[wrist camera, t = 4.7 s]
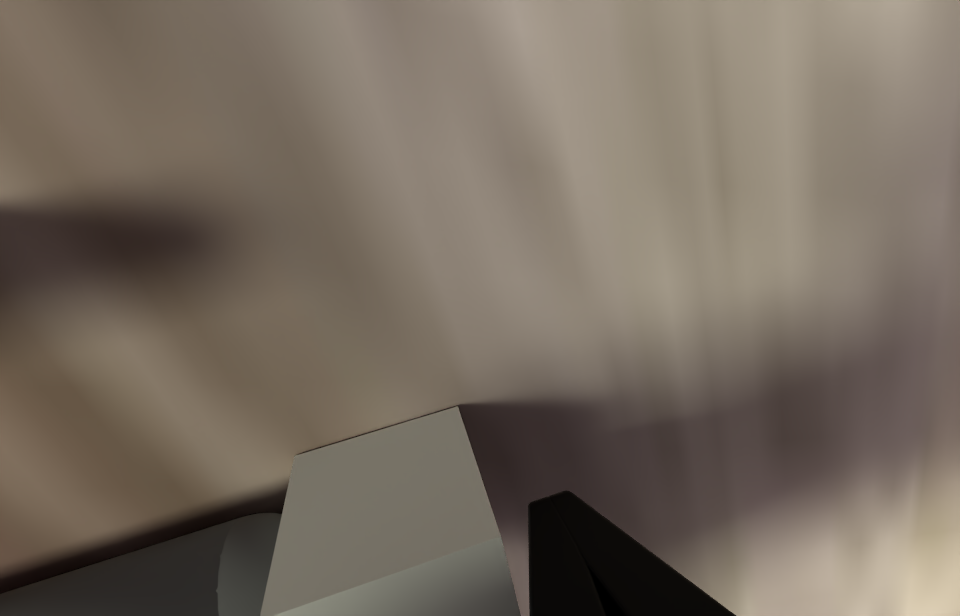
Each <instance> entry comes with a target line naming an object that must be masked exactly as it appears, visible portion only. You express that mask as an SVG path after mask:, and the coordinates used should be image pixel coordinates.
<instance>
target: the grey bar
mask: <svg viewBox="0 0 960 616" xmlns="http://www.w3.org/2000/svg"><path fill="white" fill-rule="evenodd" d="M0 616H521V615H520V611H519V607H518V603H517V599H516V595H515V591H514V587H513V583H512V579H511V575H510V571H509V567H508V563H507V559H506V555H505V551H504V547H503V543H502V539H501V535H500V532H499V529H498V526H497V523H496V520H495V517H494V514H493V511H492V508H491V505H490V502H489V499H488V496H487V493H486V490H485V487H484V484H483V481H482V478H481V475H480V472H479V469H478V466H477V463H476V460H475V457H474V454H473V451H472V448H471V445H470V442H469V439H468V436H467V433H466V430H465V427H464V424H463V421H462V418H461V415H460V412H459V408H458V406H457V407H453V408H450V409H447V410H443V411H440V412H437V413H434V414H430V415H427V416H424V417H421V418H417V419H414V420H411V421H407V422H404V423H401V424H398V425H394V426H391V427H388V428H384V429H381V430H378V431H375V432H371V433H368V434H365V435H362V436H358V437H355V438H352V439H348V440H345V441H342V442H339V443H335V444H332V445H329V446H325V447H322V448H319V449H316V450H312V451H309V452H306V453H303V454H299V455H296V456H294V461H293V466H292V470H291V475H290V480H289V484H288V489H287V493H286V498H285V503H284V507H283V512H282V514H278V513H258V514H253V515H249V516H244V517H241V518H237V519H234V520H231V521H228V522H225V523H222V524H219V525H215V526H212V527H209V528H206V529H203V530H200V531H197V532H193V533H190V534H187V535H184V536H181V537H178V538H175V539H171V540H168V541H165V542H162V543H159V544H156V545H153V546H149V547H146V548H143V549H140V550H137V551H134V552H131V553H127V554H124V555H121V556H118V557H115V558H112V559H109V560H105V561H102V562H99V563H96V564H93V565H90V566H87V567H83V568H80V569H77V570H74V571H71V572H68V573H64V574H61V575H58V576H55V577H52V578H49V579H46V580H42V581H39V582H36V583H33V584H30V585H27V586H24V587H20V588H17V589H14V590H11V591H8V592H5V593H2V594H0Z"/></svg>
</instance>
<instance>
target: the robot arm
mask: <svg viewBox="0 0 960 616" xmlns="http://www.w3.org/2000/svg"><path fill="white" fill-rule="evenodd" d="M528 539H529V609H530V616H736V615H734V614H733V613H732V612H730V611H729V610H728V609H726V608H725V607H724V606H722V605H721V604H720V603H718V602H717V601H716V600H714V599H713V598H712V597H710V596H709V595H708V594H706V593H705V592H704V591H702V590H701V589H700V588H698V587H697V586H696V585H694V584H693V583H692V582H690V581H689V580H688V579H686V578H685V577H684V576H682V575H681V574H680V573H678V572H677V571H676V570H674V569H673V568H672V567H670V566H669V565H668V564H666V563H665V562H664V561H662V560H661V559H660V558H658V557H657V556H656V555H654V554H653V553H652V552H650V551H649V550H648V549H646V548H645V547H644V546H642V545H641V544H640V543H638V542H637V541H636V540H634V539H633V538H632V537H630V536H629V535H628V534H626V533H625V532H624V531H622V530H621V529H620V528H618V527H617V526H616V525H614V524H613V523H612V522H610V521H609V520H608V519H606V518H605V517H604V516H602V515H601V514H600V513H598V512H597V511H596V510H594V509H593V508H592V507H590V506H589V505H588V504H586V503H585V502H584V501H582V500H581V499H580V498H578V497H577V496H576V495H574V494H573V493H571V492H570V491H563V492H560V493H557V494H554V495H551V496H549V497H545V498H542V499H539V500H536V501H532V502H530V503H529V505H528Z"/></svg>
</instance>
